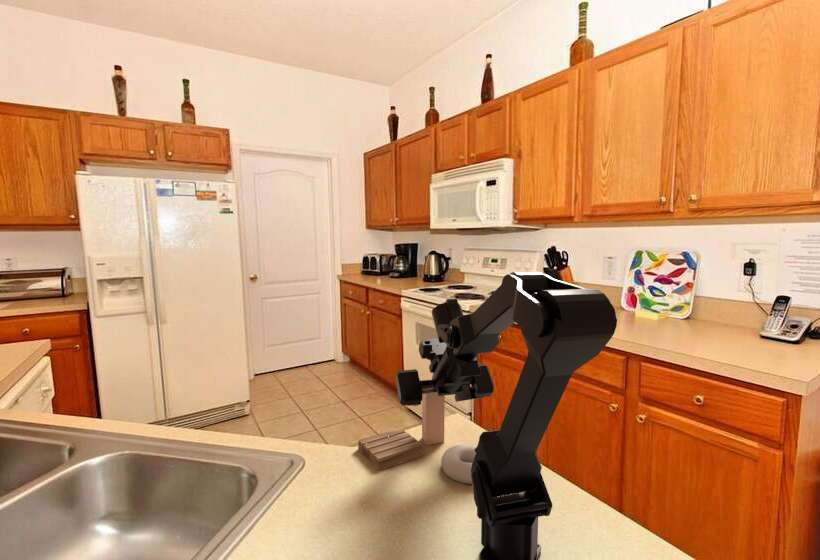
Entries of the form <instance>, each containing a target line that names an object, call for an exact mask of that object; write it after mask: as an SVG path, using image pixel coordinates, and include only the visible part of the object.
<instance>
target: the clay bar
mask: <svg viewBox="0 0 820 560" xmlns="http://www.w3.org/2000/svg"><path fill="white" fill-rule="evenodd" d="M430 389H431V388H430ZM432 389H433V388H432ZM445 396H446V395H444V396H438V393H429V394H422V401H421V409H422V410H421V439H422V442H424V444H425V445H426V446H427V445H428V446H429V445H434V444H442V443H445V412H446V411H445V404H446V402H445V400H446V399H445V398H446V397H445Z"/></svg>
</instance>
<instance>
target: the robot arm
mask: <svg viewBox="0 0 820 560" xmlns="http://www.w3.org/2000/svg"><path fill="white" fill-rule="evenodd" d="M616 314H617V313H616V309H615V308H614V305H613V304H612V303H611V300H610V299H609V297H607V295H606V294H605V293H604V292H602V291H601V290H599V289H596V288H585V287H583V286H580V285H577V284H573V283H569V282H566V281H562V280H558V279H556V278H553V277H552V276H550V275H548V274H546V273H543V272H542V271H516V272H515V271H513V272H510V273H508V274H506V275H504V276H503V278H502V280H501V284H500V285H499V286H498V287H497V288H496V289H495V290H494V291H493V292H492V293H491V294H490V295H489V296H488V297H487V298H486V299H485V300H484V301H483V302H482V303H481V304H480V305H479V306H478V307H477V308H476V309H475V310H474V311H473V312H471V313H467V314H464V312H463V308H462V306H461V304H460V303H459V302H458V298H447V299H446V301H445V302H441V303H440V304H438V305H436V306H435V307H433V308H432V310H431V316H432V321H433V323H434V327H435V331H436V335H437V337H433V338H429V339H424V340H421V341H420V343H419V346H418V353H419V355H420V358H421V359H422V360H424V359H427V361H428V360H429V362H430V364H429V366H428V369H429V373H431V374H432V375H431V379H425V380H424V379H423V380H420V375H419V370H417V369H416V368H415V369H414V368H413V369H402V370H398V372H397V373H396V375H395V377H394V379H395V380H394V381H395V384H396V385H395V386H396V390H397V396H398V402H399V404H400V405H402V406H407V407H409V406H411V407H418V406H420V405H421V406H422V394H429V393H438V396H444V395H445V396H451V395H453V396H454V400H455V402H456V403H457V402H463V401H471V400H477V399H484V398H486V397H487V398H488V397H491V396H492V395H493V393H494V391H495V383H494V380H493V377H492V374H491V371H490V369H489V367H488V366H487V365H486V364H485V363H479V359H480V354H481V355H482V354H491V353H493V351H495V349H496V348H497V347H498V346H499V344H500V343H501V338H500V335H501V334H502V333H503V332H504V331H506V330H507V329H508V328H510V327H511V326H512V325H513V324H515V323H516V325H517V326H519V327H520V328H521V329H520V331H521V332H520V333H521V336H522V338H523V340H524V343H525V346H526V348H527V351H528V352H527V355H526V359H525V362H524V363H523V367H522V370H521V372H520V374H519V377H518V379H517V383H516V385H515V388H514V390H513V393H512V396H511V399H510V401H509V404H508V406H507V410H506V412H505V415H504V417H503V420H502V422H501V425H500V428H499V429H497V430H488V431H483V432H482V433H481V434H480V435H479V438H478V444H477V445H476V446H477V448H475V449H474V450H475V452H476V455H475V457H474V461H473V463H472V468H471V477H472V483H473V484H472V491H473V500H474V503H475V506H476V516H477V518H478V519H480V520H481V524H480V525H481V526H480V527H481V528H480V531H481V532H480V543H481V546H483V547H482V548H481V550H480V552H479V557H478V558H479V560H538V558H539V556H540V553H541V552H542V546H541V544H539V543H538V539H539V535H538V534H539V518H540V517H549V516H550V515H551V511H552V509H553V502H552V500H551V497H550V493H549V492H548V491H549V490H548V489H547V486H546V483H545V481H544V478H543V476H542V472H541V471H542V469H543V467H542V464H541V462H540V460H539V458H538V455H537V450H538V448H539V446H540V444H541V442H542V439H543V437H544V435H545V433H546V431H547V429H548V427H549V424H550V423H551V421H552V418H553V416H554V414H555V412H556V410H557V407H558V405H559V403H560V401H561V399H562V397H563V395H564V392H565V391H566V389H567V386H568V384H569V382H570V380H571V377H573V376H572V375H573V374H574V373H575V371H577V370H579V369H580V368H581V367H583V366H584V365H585V364H587V363H589V362H590V361H592V360H593V359H595V358H596V357H597V356H599V355H600V353H601V352H603V350H604V348H605V347H606V346H607V344H608V343H609V341H610V340H611V339H612V338H613V336H614V335H615V332H616V329H617V326H618V325H617V324H618V319H617V315H616ZM430 388H431V389H430ZM432 388H433V389H432Z"/></svg>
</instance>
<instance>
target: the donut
mask: <svg viewBox="0 0 820 560" xmlns="http://www.w3.org/2000/svg"><path fill="white" fill-rule="evenodd" d="M477 446H478V445H473V444H465V443H463V444H456V445H453V446H451V447H449V448H447V449H446V450H445V451H444V453H443V454H442V456H441V460H440V461H441V463H440V464H441V468H442V470H443V471H444V473H445V474H446V476H448V477H449V478H451V479H452V480H453V481H456V482H459V483H462V484H469V485H470V484H472V485H473V483H472V477H471V468H472V463H473V461H474V457H475V455H476V452H475V450H474V449H475V448H477Z"/></svg>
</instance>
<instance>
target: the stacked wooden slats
mask: <svg viewBox="0 0 820 560" xmlns="http://www.w3.org/2000/svg"><path fill="white" fill-rule="evenodd" d="M388 436H389V437H388ZM366 443H367V444H366ZM357 449H358V451H359V452H360V453H361V454H362V455H363V456H364V457H365V458H366V459H367V460H368V461H369V462H370V463H371V464H372V465H373V466H374V467H375V468H376V469H377V470H378V471H380V470H385V469H387V468H390V467H393V466H396V465H399V464H402V463H405V462H407V461H411V460H414V459H417V458H420V457H423V456H425V454H424V453H425V448H424V444H423V443H422V442H420V441H419V440H417V438H415V437H413V436H412V435H411V434H409V433H408V432H407V431H405V430H404V429H403V428H401V427H400V428H397V429H393V430H389V431H387V432H383V433H379V434H375V435H371V436H368V437H363V438H361V439H358V443H357Z"/></svg>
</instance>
